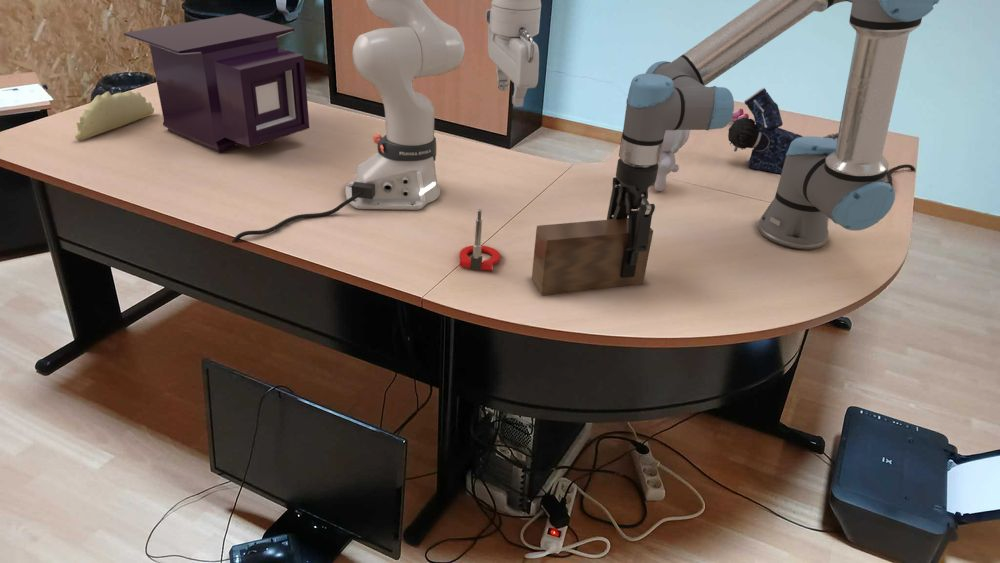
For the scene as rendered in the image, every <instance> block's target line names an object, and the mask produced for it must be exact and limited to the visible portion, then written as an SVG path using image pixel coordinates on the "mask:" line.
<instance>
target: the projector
mask: <svg viewBox="0 0 1000 563" xmlns="http://www.w3.org/2000/svg"><path fill="white" fill-rule="evenodd" d="M294 31H295V28H294V27H292V26H287V25H283V24H279V23H276V22H272V21H269V20H264V19H262V18H259V17H256V16H255V17H254V16H252V15H247V14H244V13H235V14H230V15H224V16H217V17H212V18H205V19H200V20H194V21H188V22H181V23H175V24H169V25H163V26H157V27H151V28H146V29H145V28H144V29H139V30H134V31H128V32H123V36H125V37H127V38H130V39H133V40H136V41H138V42H142V43H145V44H148V45H149V50H150V54H151V60H152V66H153V71H154V75H155V76H154V77H155V82H156V87H157V92H158V97H159V102H160V107H161V113H162V118H163V122H162V126H163V127H165V128H166V129H167V131H168V132H170V133H172V134H175V135H177V136H179V137H182V138H184V139H187V140H189V141H191V142H193V143H196V144H197V145H200V146H203V147H205V148H207V149H209V150H212V151H215V152H217V153H219V154H220V153H224V152H227V151H229V150H233V149H235V148H237V144H240V145H242V146H245V147H247V148H249V149H250V148H253V147H256V146H259V145H262V144H266V143H269V142H271V141H275V140H278V139H281V138H285V137H287V136H289V135H293V134H296V133H300V132H302V131H305V130H308V129H310V118H309V105H308V94H307V93H308V92H307V80H306V79H307V78H306V68H305V56H304V54H303V53H302V54H301V53H297V52H296V51H295V52H294V51H291V50H288V49H285V48H282V47H279V44H278V40H277V38H280V37H282V36H286V35H287V34H291V33H292V32H294Z"/></svg>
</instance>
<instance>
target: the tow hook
mask: <svg viewBox="0 0 1000 563" xmlns="http://www.w3.org/2000/svg"><path fill="white" fill-rule="evenodd" d="M482 213H483V210H482V209H480V208H479V209H477V218H476V219H475V234H474V244H473V245H468V246H465V247H463V248H462V249H460V251H459V253H458V254H459V267H463V268H470V269H474V270H483V271H493V268H494V266H495V265H497V264H498V263H499V262H500V259H501V254H500V252H499V251H498V250H497V249H495V248H494V247H491V246H488V245H483V244H482V243H481V242H482V229H483V219H482ZM482 252H483V253H487V254H489V255H490V256H492V257H491V258H489V259H484V260H483V255H482ZM470 253H472V255H471V257H469V255H468V254H470Z"/></svg>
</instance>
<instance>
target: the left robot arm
mask: <svg viewBox="0 0 1000 563" xmlns="http://www.w3.org/2000/svg"><path fill="white" fill-rule="evenodd" d="M365 2H366V6H367V7H368V9H369V10H370V12H371V13H372V14H373V15H374V16H375V17H377V18H379V19H380V20H384V21H385V22H387V23H389V24H390V25H392V27H381V28H377V29H373V30H369V31H367V32H365V33H362V34H359V35H358V36H357V38H356V39H355V40H354V43H353V46H352V52H351V56H352V62H353V65H354V68H355V70H356V72H357V73H358V74H359V75H360V77H361V78H362V79H364V81H367V82H368V83H370V84H371V85H372V86H373V87H374V88H375V90H376V91H377V92H378V94H379V96H380V98H381V101H382V105H383V108H384V118H385V135H383V136H382V135H381V134H380V133H375V134H374V135H373V138H372V140H373V142H374V143H375V144H376V145H377V146H376V147H377V152H375V153H373V154H372V155H370V156H369V157H368V158H367V159H365V160H364V161H362V162H361V163H359V164H358V166H357V168H356V171H355V174H354V180H352V181H350V182H348V183H347V184H346V186H345V192H344V193H345V198H346V200H344V201H343V202H342V203H340V204H338V205H337V206H336V207H334V208H332V209H330V210H327V211H324V212H318V213H317V212H316V213H302V214H297V215H293V216H290V217H288V218H286V219H283V220H282V221H280V222H278V223H277V224H275V225H273V226H271V227H269V228H266V229H262V230H261V229H260V230H245V231H242V232H240V233H238V234H237V235H236V236H235V237H234V238H233V239H232V240H231V243H233V244H234V243H238V241H239V240H240V239H241V238H243V237H246V236H256V235H257V236H258V235H259V236H260V235H266V234H269V233H272V232H275V231H276V230H278V229H280V228H282V227H284V226H285V225H287V224H289V223H291V222H293V221H296V220H302V219H310V218H322V217H327V216H331V215H333V214H335V213H337V212H338V211H340V210H341V209H343V208H344V207H345V206H347V205H348V204H349V205H350V206H351V207H353V208H354V209H357V210H402V211H403V210H404V211H405V210H407V211H408V210H411V211H414V210H416V211H419V210H422V209H423V208H424V207H425V206H426V205H428V204H430V203H432V202H434V201H435V200H437V199H438V198H439V197H440V196H441V190H440V187H439V182H438V178H437V171H436V158H437V138H436V137H435V106H434V104H433V102H432V101H431V100H430V98H428V97H427V96H426V95H425V94H422V93H420V92H418V91H416V90H415V89H414V80H415V79H419V78H428V77H433V76H434V77H436V76H441V75H443V74H447V73H449V72H451V71H454V70H457V69H458V68H459V67H460V66H461V64H462V63H463V60H464V57H465V43H464V39H463V37H462V35H461V34H460V32H459V31H458V30H457V28H456V27H455V26H453V25H451V24H449V23H447V22H446V21H444V20H442V19H441V18H439V16H438V15H436V14H435V12H433V11H432V10H431V9H430V7H428V5H427V4H426V3H425V2H424V0H365ZM541 11H542V1H541V0H491V7H490V8H488V9H486V11H485V22H486V23H487V53H488V58H489V60H490V61H491V62H492V63H494V65H495V71H496V77H497V78H496V79H497V86H496V87H497V89H499V91H501V92H503V91H504V92H505V91H508V90H509V83H510V82H509V80H510V81H511V82H512V83H513V88H514V92H513V94H512V95H511V104H512V105H513V106H514V107H515V108H520V107H521V108H522V107H523V106H524V102H525V101H524V100H525V97H526V95H527V92H528V89H536V88H537V85H538V84H539V83H538V82H539V74H540V72H539V71H540V51H539V46H538V44H537V43H536V42H535V41H534V40H533V39H534V37H536V36H537V35H539V33H540V22H541Z"/></svg>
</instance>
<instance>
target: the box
mask: <svg viewBox="0 0 1000 563" xmlns="http://www.w3.org/2000/svg"><path fill="white" fill-rule="evenodd" d="M628 218H629V217H627V218H623V219H609V220H607V219H599V220H586V221H577V222H575V221H574V222H563V223H553V224H540V225H536V231H535V241H534V251H533V260H532V271H531V281H532V283H533V285H534V286H535V288H536V289H537V291H538V292H539V294H540V296H548V295H558V294H567V293H577V292H585V291H593V290H601V289H609V288H610V289H611V288H619V287H629V286H638V285H644V282H645V278H646V277H645V276H646V271H647V265H648V260H649V255H650V250H651V246H652V240H653V235H654V230H653V229H652V227H650V232H649V239H648V246H647V250H646V251H642V252H639V255H638V260H637V265H636V270H635V275H634V277H626V278H621V276H620V275H621V269H622V263H623V257H624V252H625V248H624V247H628Z"/></svg>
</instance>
